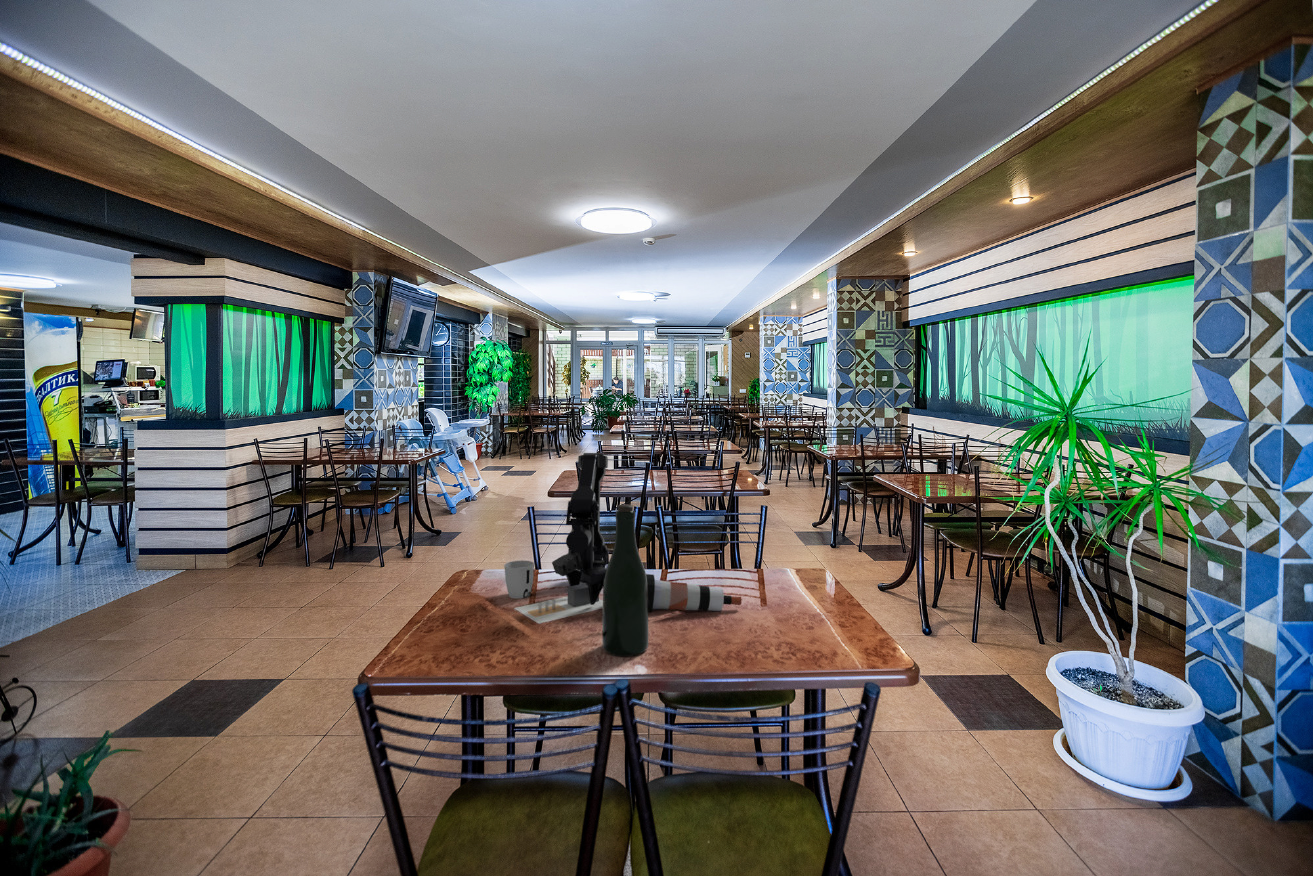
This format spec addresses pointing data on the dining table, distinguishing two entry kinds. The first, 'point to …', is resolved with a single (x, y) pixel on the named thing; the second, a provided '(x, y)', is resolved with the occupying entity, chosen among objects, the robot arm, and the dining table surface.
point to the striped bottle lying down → (686, 596)
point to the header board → (556, 609)
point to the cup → (519, 578)
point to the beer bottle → (625, 592)
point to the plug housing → (579, 595)
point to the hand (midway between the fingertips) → (583, 600)
